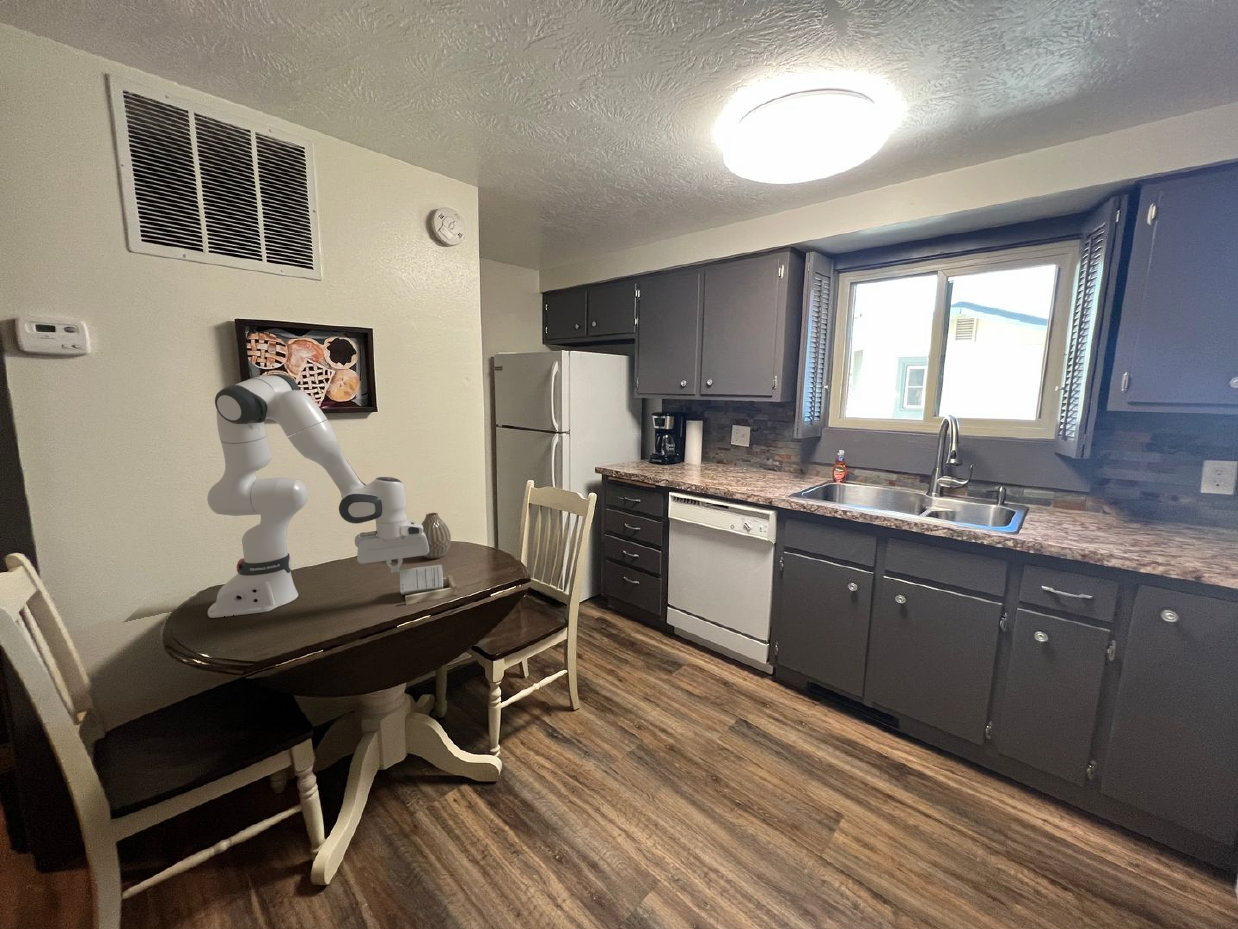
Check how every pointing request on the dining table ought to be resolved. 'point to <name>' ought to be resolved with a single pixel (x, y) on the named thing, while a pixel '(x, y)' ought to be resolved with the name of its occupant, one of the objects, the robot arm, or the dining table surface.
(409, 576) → the supplement box
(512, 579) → the dining table surface
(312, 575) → the dining table surface
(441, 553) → the vase
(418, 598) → the u rest
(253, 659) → the dining table surface
